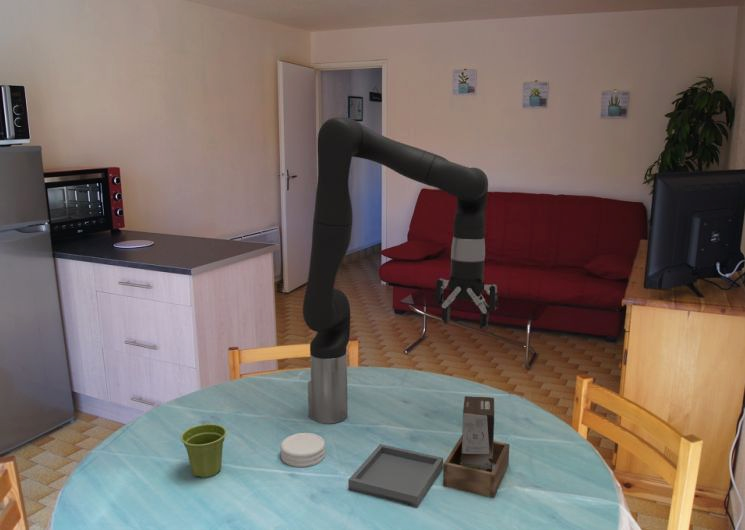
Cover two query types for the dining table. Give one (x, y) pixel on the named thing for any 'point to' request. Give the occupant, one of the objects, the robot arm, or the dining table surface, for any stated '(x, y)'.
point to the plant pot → (204, 448)
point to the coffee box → (478, 433)
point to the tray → (396, 475)
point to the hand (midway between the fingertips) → (464, 325)
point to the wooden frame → (476, 471)
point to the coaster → (303, 449)
